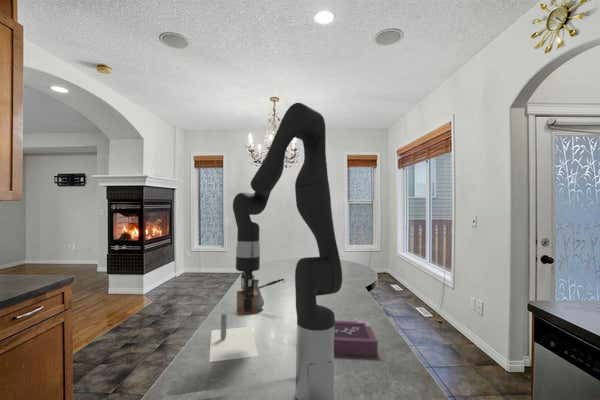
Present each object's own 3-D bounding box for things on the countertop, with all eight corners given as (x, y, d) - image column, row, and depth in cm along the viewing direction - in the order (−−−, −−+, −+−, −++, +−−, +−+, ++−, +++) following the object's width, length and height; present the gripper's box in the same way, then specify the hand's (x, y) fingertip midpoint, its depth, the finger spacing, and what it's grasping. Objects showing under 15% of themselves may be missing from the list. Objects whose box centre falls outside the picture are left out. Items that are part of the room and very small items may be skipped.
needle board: (258, 361, 84) (259, 327, 84) (209, 367, 80) (210, 331, 80) (250, 330, 105) (251, 303, 105) (211, 334, 101) (212, 306, 101)
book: (368, 335, 104) (368, 321, 104) (377, 357, 88) (377, 341, 88) (299, 332, 106) (299, 318, 106) (296, 353, 89) (296, 337, 90)
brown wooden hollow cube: (257, 314, 88) (257, 294, 88) (237, 315, 86) (238, 295, 86) (254, 308, 93) (255, 289, 94) (236, 309, 92) (236, 290, 92)
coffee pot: (233, 312, 124) (234, 277, 125) (245, 304, 135) (246, 272, 136) (279, 317, 119) (280, 281, 119) (287, 308, 130) (288, 275, 131)
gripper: (263, 257, 85) (262, 314, 84) (256, 252, 99) (255, 301, 98) (237, 258, 83) (236, 317, 82) (234, 252, 97) (233, 302, 96)
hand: (246, 308), depth 90 cm, fingers closed on brown wooden hollow cube, 6 cm apart
